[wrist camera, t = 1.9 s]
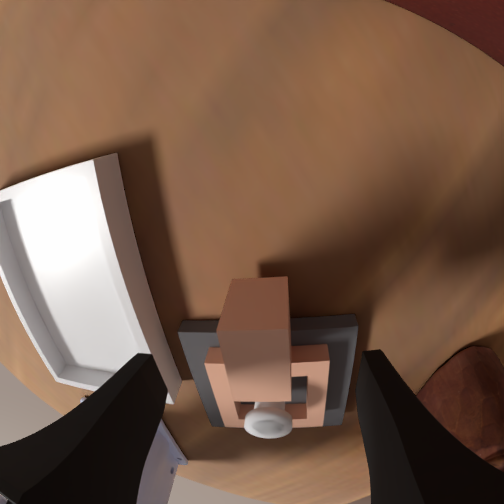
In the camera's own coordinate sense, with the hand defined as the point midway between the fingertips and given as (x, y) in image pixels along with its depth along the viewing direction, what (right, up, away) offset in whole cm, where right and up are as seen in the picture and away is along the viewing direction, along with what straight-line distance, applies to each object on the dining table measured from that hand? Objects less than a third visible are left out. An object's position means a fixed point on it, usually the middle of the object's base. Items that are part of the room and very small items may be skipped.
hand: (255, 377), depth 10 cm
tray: (-10, +2, +6) cm, 12 cm away
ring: (+1, -1, +5) cm, 6 cm away
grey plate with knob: (+1, -3, +7) cm, 8 cm away
